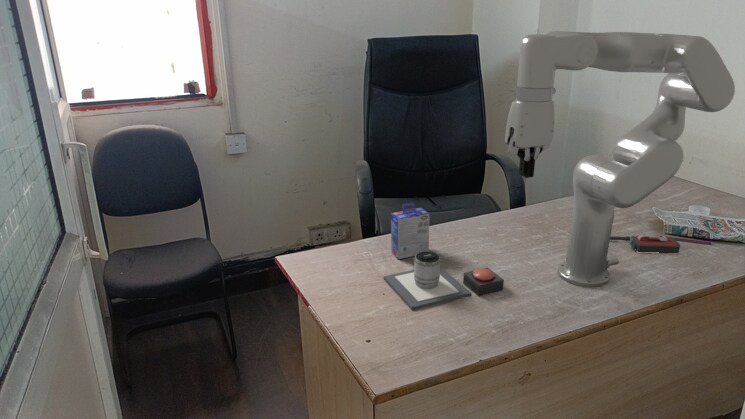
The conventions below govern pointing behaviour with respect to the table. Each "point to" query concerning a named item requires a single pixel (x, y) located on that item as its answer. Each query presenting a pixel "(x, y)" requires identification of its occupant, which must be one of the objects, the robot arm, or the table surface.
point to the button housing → (483, 284)
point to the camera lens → (427, 270)
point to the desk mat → (426, 297)
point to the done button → (483, 274)
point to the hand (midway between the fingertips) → (526, 175)
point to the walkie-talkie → (651, 243)
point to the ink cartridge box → (409, 232)
